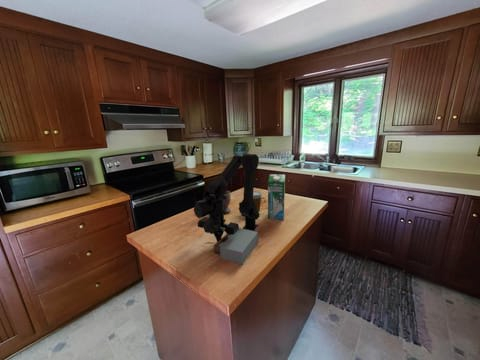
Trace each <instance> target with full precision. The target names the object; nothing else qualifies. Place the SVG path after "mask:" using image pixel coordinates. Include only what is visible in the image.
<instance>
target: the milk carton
mask: <svg viewBox="0 0 480 360" xmlns="http://www.w3.org/2000/svg"><path fill="white" fill-rule="evenodd" d="M285 195H286V174H280V173H279V174H276V173H274V174H272V173H271V174H269V176H268V181H267V219H268V220H281V221H284V220H285V198H286V196H285Z"/></svg>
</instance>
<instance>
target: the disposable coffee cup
mask: <svg viewBox="0 0 480 360" xmlns="http://www.w3.org/2000/svg"><path fill="white" fill-rule="evenodd" d="M262 197H263V194H262V192H261V191H257V190H254V191H253V200H254V202H255V205H256V210H257V211H258V212H259V213H260V209H261V203H262Z"/></svg>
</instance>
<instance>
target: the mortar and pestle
mask: <svg viewBox="0 0 480 360" xmlns="http://www.w3.org/2000/svg"><path fill="white" fill-rule="evenodd" d="M224 196H225V197H227V199H225V200H223V207H224V211H225V214H224V215H226V214H230V213H231V212H232V211H231V210H232V209H231V208H230V207H229V206H230V204H231V198H232V197H231V191H230V190H226V192H225V194H224Z"/></svg>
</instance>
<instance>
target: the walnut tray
mask: <svg viewBox="0 0 480 360" xmlns="http://www.w3.org/2000/svg"><path fill="white" fill-rule="evenodd" d="M231 235H232V234H227V233H225V234H223V235H222V238H221V239H220V240H219V241H218V242H217V241H216V243H215V244H214V245H213V253H214V254H218V255H221V254H220V247H221V246H222V245H223V244H224V242H225V241H226V240H227V239H228V238H229V237H230V236H231Z"/></svg>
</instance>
